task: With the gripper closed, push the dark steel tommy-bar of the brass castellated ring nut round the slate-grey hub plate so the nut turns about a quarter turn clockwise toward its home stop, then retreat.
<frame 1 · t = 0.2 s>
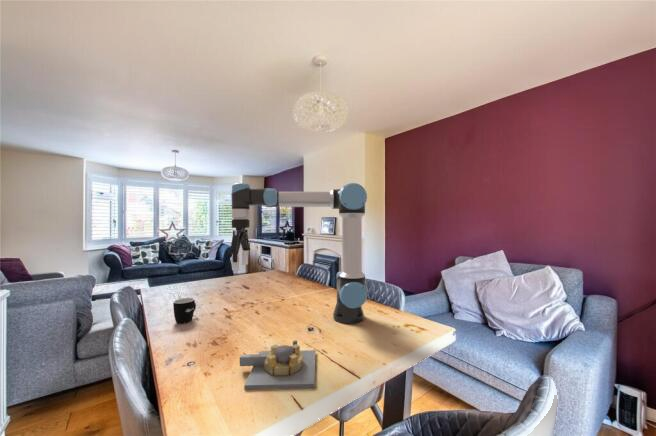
hand: (240, 267, 118), 28 cm above the table, fingers open, 13 cm apart
mug: (186, 320, 130), on the table
ring nut: (271, 358, 87), point 4 cm above the table, hinge at 0.0°
hub plate: (284, 369, 87), on the table
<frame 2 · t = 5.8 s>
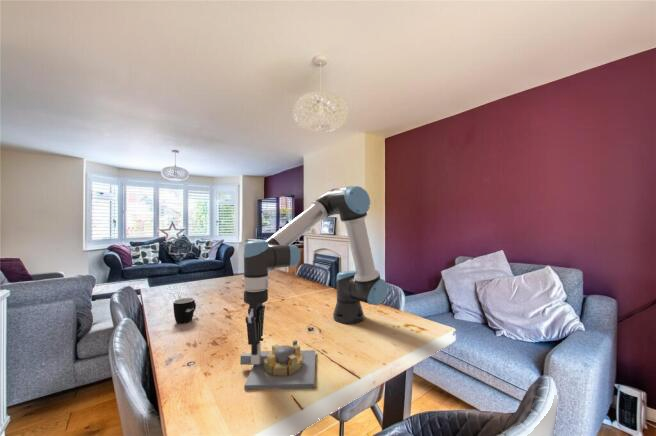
hand: (255, 363, 86), 3 cm above the table, fingers closed
ring nut: (271, 357, 87), point 4 cm above the table, hinge at -4.1°, touching gripper
everything else where it was.
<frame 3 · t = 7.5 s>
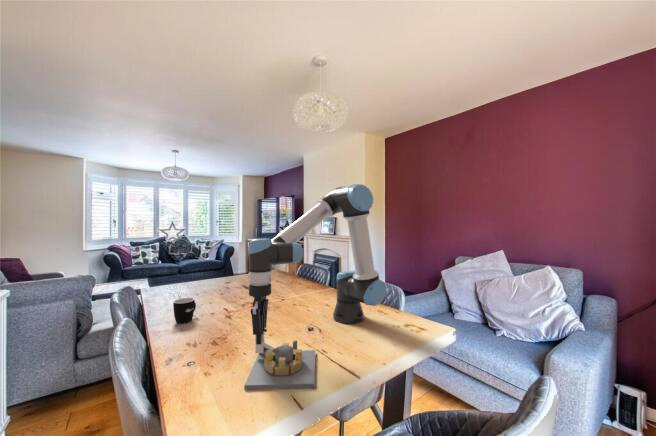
hand: (259, 352, 92), 3 cm above the table, fingers closed
ring nut: (276, 353, 90), point 4 cm above the table, hinge at -44.1°, touching gripper
everything else where it was.
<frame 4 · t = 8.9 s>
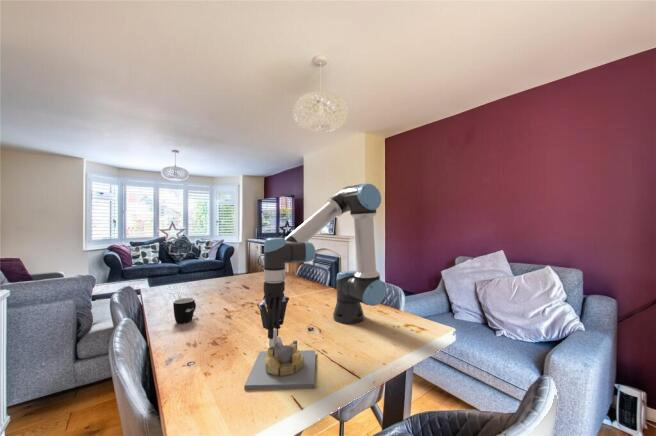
hand: (272, 346, 96), 3 cm above the table, fingers closed
ring nut: (282, 352, 91), point 4 cm above the table, hinge at -73.2°, touching gripper
everything else where it was.
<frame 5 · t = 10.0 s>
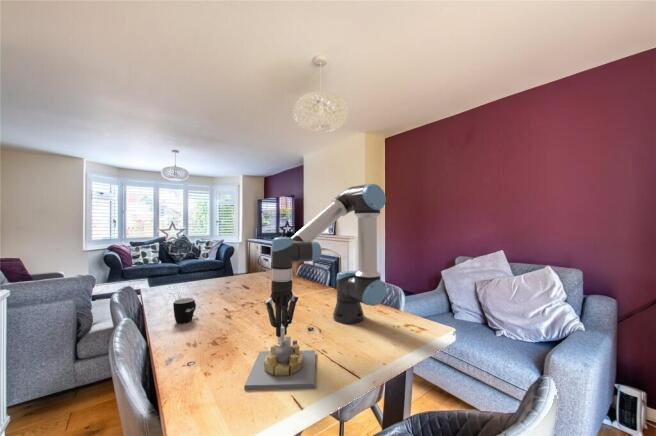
hand: (281, 344, 98), 3 cm above the table, fingers closed
ring nut: (285, 351, 91), point 4 cm above the table, hinge at -89.1°, touching gripper
everything else where it was.
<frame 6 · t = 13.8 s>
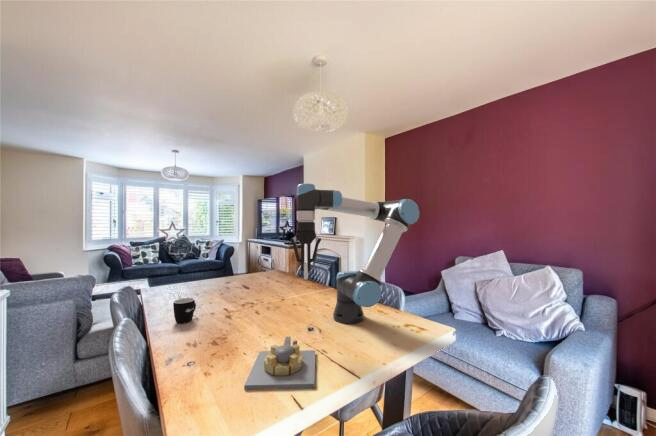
hand: (305, 278, 110), 24 cm above the table, fingers closed
ring nut: (285, 351, 91), point 4 cm above the table, hinge at -89.1°
everything else where it was.
at the end: ring nut at -89° (first picture: +0°); the gripper is holding nothing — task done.
